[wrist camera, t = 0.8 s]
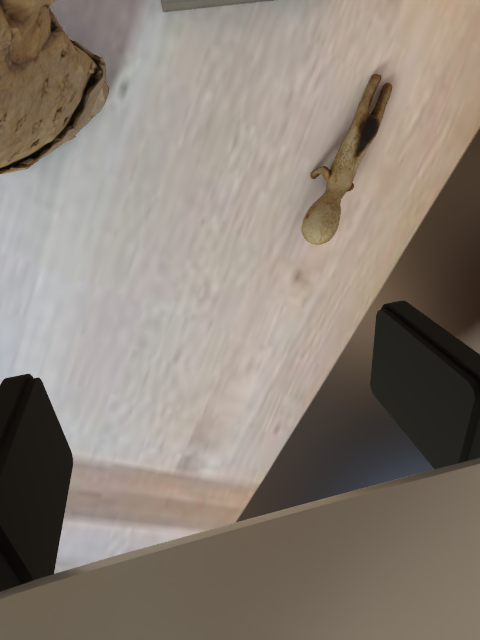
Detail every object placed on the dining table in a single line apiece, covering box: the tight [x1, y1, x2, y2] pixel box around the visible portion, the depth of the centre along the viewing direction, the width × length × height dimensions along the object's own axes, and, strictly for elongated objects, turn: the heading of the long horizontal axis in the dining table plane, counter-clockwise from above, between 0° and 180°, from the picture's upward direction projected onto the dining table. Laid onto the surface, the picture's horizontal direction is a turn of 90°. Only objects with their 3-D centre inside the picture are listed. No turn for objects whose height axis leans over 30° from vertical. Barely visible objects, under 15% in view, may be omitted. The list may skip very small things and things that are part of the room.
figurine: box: [301, 74, 392, 245], centre depth 35 cm, size 4×4×15 cm
